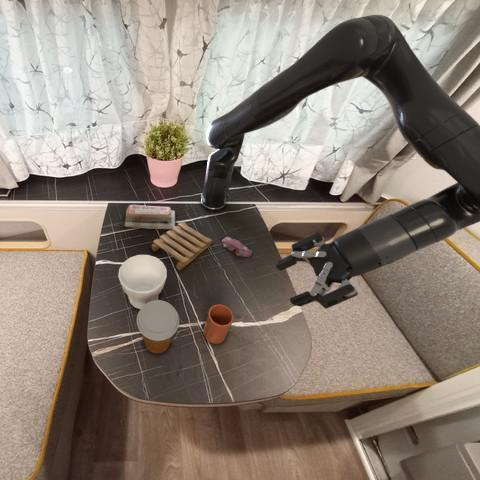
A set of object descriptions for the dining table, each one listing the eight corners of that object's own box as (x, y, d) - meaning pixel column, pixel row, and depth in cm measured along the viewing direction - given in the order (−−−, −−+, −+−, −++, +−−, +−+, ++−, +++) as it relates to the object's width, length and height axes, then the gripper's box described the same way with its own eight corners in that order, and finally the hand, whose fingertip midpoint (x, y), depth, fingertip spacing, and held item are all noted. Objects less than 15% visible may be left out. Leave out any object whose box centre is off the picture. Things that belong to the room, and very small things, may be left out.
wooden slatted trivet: (182, 226, 99) (183, 220, 96) (211, 244, 92) (212, 238, 90) (151, 249, 90) (151, 242, 88) (180, 271, 84) (181, 264, 82)
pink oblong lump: (220, 248, 93) (218, 240, 87) (228, 238, 94) (226, 229, 88) (245, 264, 89) (245, 256, 83) (253, 253, 89) (254, 245, 83)
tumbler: (212, 318, 73) (218, 300, 67) (230, 332, 70) (238, 315, 64) (198, 332, 70) (203, 315, 64) (217, 348, 67) (224, 331, 61)
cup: (161, 320, 72) (162, 296, 64) (115, 311, 74) (111, 288, 66) (168, 282, 81) (170, 258, 73) (128, 275, 82) (125, 251, 74)
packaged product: (123, 217, 94) (127, 200, 101) (124, 228, 97) (128, 210, 104) (175, 220, 93) (175, 202, 100) (174, 230, 97) (174, 212, 104)
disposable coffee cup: (139, 322, 72) (138, 297, 63) (175, 324, 71) (179, 299, 63) (136, 359, 65) (134, 336, 56) (176, 361, 65) (180, 338, 56)
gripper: (344, 207, 50) (265, 249, 58) (392, 267, 40) (288, 308, 48) (357, 229, 54) (281, 265, 62) (403, 288, 44) (305, 323, 52)
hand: (284, 284), depth 55 cm, fingers open, 8 cm apart
